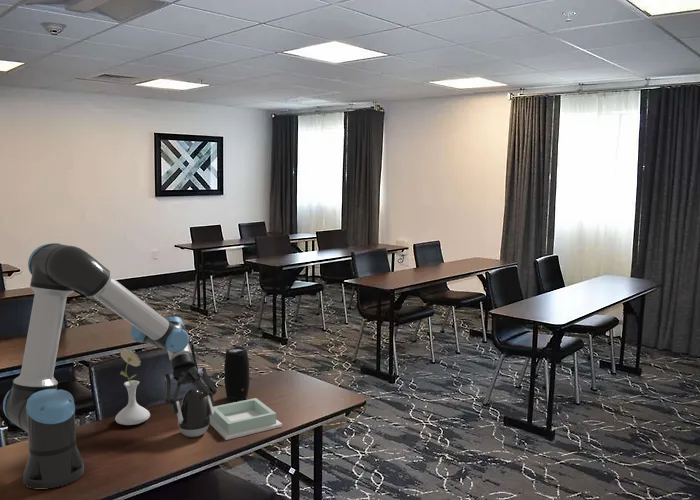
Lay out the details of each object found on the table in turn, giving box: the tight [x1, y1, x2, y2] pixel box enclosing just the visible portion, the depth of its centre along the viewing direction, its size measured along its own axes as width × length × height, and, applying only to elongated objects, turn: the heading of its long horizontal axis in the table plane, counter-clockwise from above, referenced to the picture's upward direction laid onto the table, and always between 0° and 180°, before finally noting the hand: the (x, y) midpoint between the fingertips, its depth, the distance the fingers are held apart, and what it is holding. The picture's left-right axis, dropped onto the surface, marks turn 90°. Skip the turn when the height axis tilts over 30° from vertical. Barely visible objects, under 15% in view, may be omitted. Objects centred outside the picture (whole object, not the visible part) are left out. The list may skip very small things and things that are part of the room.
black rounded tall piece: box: [177, 388, 211, 438], centre depth 190 cm, size 10×10×15 cm
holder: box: [209, 397, 283, 441], centre depth 200 cm, size 20×20×4 cm
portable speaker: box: [223, 345, 250, 403], centre depth 222 cm, size 9×9×20 cm
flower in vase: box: [114, 348, 151, 426], centre depth 200 cm, size 13×11×25 cm
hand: (197, 418), depth 187 cm, fingers closed on black rounded tall piece, 9 cm apart
